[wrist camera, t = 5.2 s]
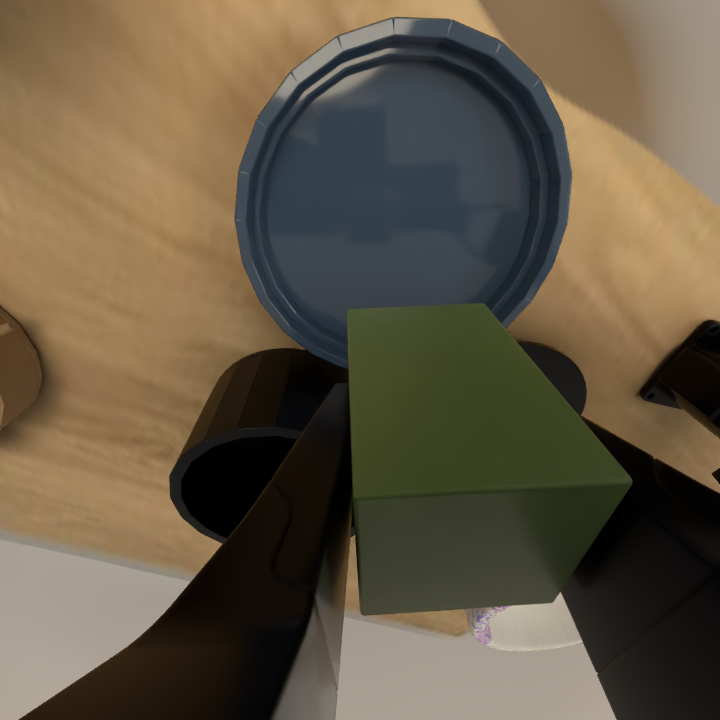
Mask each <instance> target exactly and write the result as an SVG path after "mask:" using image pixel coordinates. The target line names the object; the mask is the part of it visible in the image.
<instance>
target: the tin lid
mask: <svg viewBox="0 0 720 720" xmlns="http://www.w3.org/2000/svg"><path fill="white" fill-rule="evenodd" d="M516 342H517V343H518V344H519V345H520V347H521V348H522V349H523V350H524V351H525V353H526V354H527V355H528V356H529V357H530V358H531V360H532V361H533V362H534V363H535V364H536V366H537V367H538V368H539V369H540V370H541V372H542V373H543V374H544V375H545V376H546V377H547V379H548V380H549V381H550V382H551V383H552V385H553V386H554V387H555V388H556V389H557V391H558V392H559V393H560V394H561V395H562V396H563V398H564V399H565V400H566V401H567V402H568V404H569V405H570V406H571V407H572V408H573V410H574V411H575V412H576V413H578V414H580V415H581V414H582V412H583V409H584V406H585V402H586V393H587V391H586V383H585V380H584V377H583V375H582V373H581V371H580V369H579V368H578V367H577V365H576V364H575V363H574V362H573V361H572V360H571V359H570V358H569V357H567V356H566V355H565V354H563V353H562V352H560V351H559V350H557V349H555V348H553V347H550V346H547V345H544V344H539V343H534V342H523V341H516Z"/></svg>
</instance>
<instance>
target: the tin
mask: <svg viewBox="0 0 720 720" xmlns="http://www.w3.org/2000/svg"><path fill="white" fill-rule="evenodd" d="M337 383H349V370H348V369H347V368H343V367H340V366H338V365H336V364H334V363H331V362H329V361H327V360H325V359H323V358H320V357H318V356H316V355H314V354H312V353H310V352H309V351H307V350H300V349H288V348H282V349H271V350H265V351H261V352H257V353H254V354H251V355H249V356H247V357H244V358H242V359H240V360H239V361H237V362H236V363H234V364H233V365H232V366H230V367H229V368H228V369H227V370H226V371H225V372H224V373H223V374H222V376H221V377H220V378H219V380H218V382H217V383H216V385H215V387H214V389H213V391H212V393H211V394H210V396H209V398H208V400H207V402H206V404H205V406H204V408H203V410H202V412H201V414H200V416H199V418H198V420H197V422H196V424H195V426H194V428H193V430H192V432H191V434H190V436H189V438H188V440H187V442H186V444H185V446H184V448H183V450H182V452H181V454H180V456H179V458H178V460H177V462H176V464H175V466H174V468H173V470H172V472H171V474H170V476H169V480H170V498H171V500H172V502H173V504H174V505H175V507H176V509H177V511H178V512H179V514H180V516H181V517H182V518H183V519H184V520H185V521H187V522H188V523H189V524H190V525H191V526H193V527H194V528H195V529H196V530H197V531H198V532H200V533H202V534H204V535H206V536H208V537H210V538H212V539H214V540H216V541H218V542H220V543H222V544H223V543H224V542H225V541H226V539H227V538H228V537H229V536H230V534H231V533H232V532H233V531H234V529H235V528H236V527H237V526H238V525H239V523H240V522H241V521H242V520H243V518H244V517H245V516H246V514H247V513H248V512H249V510H250V509H251V507H252V506H253V505H254V503H255V502H256V500H257V499H258V498H259V496H260V495H261V493H262V492H263V490H264V489H265V487H266V486H267V484H268V483H269V481H272V477H273V476H274V474H275V473H276V471H277V470H278V468H279V467H280V465H281V464H282V462H283V461H284V459H285V458H286V456H287V455H288V453H289V452H290V450H291V449H292V447H293V446H294V444H295V443H296V441H297V440H298V438H299V437H300V435H301V434H302V432H303V431H304V430H305V428H306V427H307V425H308V424H309V422H310V421H311V419H312V418H313V416H314V415H315V413H316V412H317V410H318V409H319V407H320V406H321V404H322V403H323V401H324V400H325V398H326V397H327V395H328V394H329V392H330V391H331V389H332V388H333V386H334V385H335V384H337ZM354 535H355V523H354V507H353V510H352V522H351V534H350V537H353V536H354Z"/></svg>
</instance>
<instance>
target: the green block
mask: <svg viewBox="0 0 720 720" xmlns="http://www.w3.org/2000/svg"><path fill="white" fill-rule="evenodd" d="M347 337H348V367H349V397H350V427H351V456H352V486H353V507H354V523H355V539H356V555H357V571H358V587H359V603H360V612H361V615H364V616H366V615H381V614H396V613H411V612H426V611H441V610H456V609H471V608H486V607H501V606H516V605H531V604H546V603H553V602H554V601H555V599H556V598H557V596H558V595H559V593H560V592H561V590H562V589H563V587H564V586H565V584H566V583H567V581H568V580H569V578H570V577H571V575H572V574H573V572H574V571H575V569H576V568H577V566H578V565H579V563H580V562H581V560H582V559H583V557H584V556H585V554H586V553H587V551H588V550H589V548H590V547H591V545H592V544H593V542H594V541H595V539H596V538H597V536H598V535H599V533H600V532H601V530H602V529H603V527H604V526H605V524H606V523H607V521H608V520H609V518H610V517H611V515H612V514H613V512H614V511H615V509H616V508H617V506H618V505H619V503H620V501H621V500H622V498H623V497H624V495H625V494H626V492H627V491H628V489H629V488H630V486H631V485H632V479H631V477H630V476H629V475H628V474H627V472H626V471H625V470H624V469H623V468H622V467H621V465H620V464H619V463H618V462H617V461H616V459H615V458H614V457H613V456H612V455H611V453H610V452H609V451H608V450H607V449H606V448H605V446H604V445H603V444H602V443H601V442H600V440H599V439H598V438H597V437H596V436H595V434H594V433H593V432H592V431H591V430H590V429H589V427H588V426H587V425H586V424H585V423H584V421H583V420H582V419H581V418H580V417H579V415H578V414H577V413H576V412H575V411H574V410H573V408H572V407H571V406H570V405H569V404H568V402H567V401H566V400H565V399H564V398H563V396H562V395H561V394H560V393H559V392H558V391H557V389H556V388H555V387H554V386H553V385H552V383H551V382H550V381H549V380H548V379H547V377H546V376H545V375H544V374H543V373H542V372H541V370H540V369H539V368H538V367H537V366H536V364H535V363H534V362H533V361H532V360H531V358H530V357H529V356H528V355H527V354H526V353H525V351H524V350H523V349H522V348H521V347H520V345H519V344H518V343H517V342H516V341H515V339H514V338H513V337H512V336H511V335H510V334H509V332H508V331H507V330H506V329H505V328H504V326H503V325H502V324H501V323H500V322H499V320H498V319H497V318H496V317H495V316H494V315H493V313H492V312H491V311H490V310H489V309H488V307H487V306H486V305H485V304H483V303H475V304H452V305H430V306H407V307H385V308H363V309H348V310H347Z"/></svg>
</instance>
